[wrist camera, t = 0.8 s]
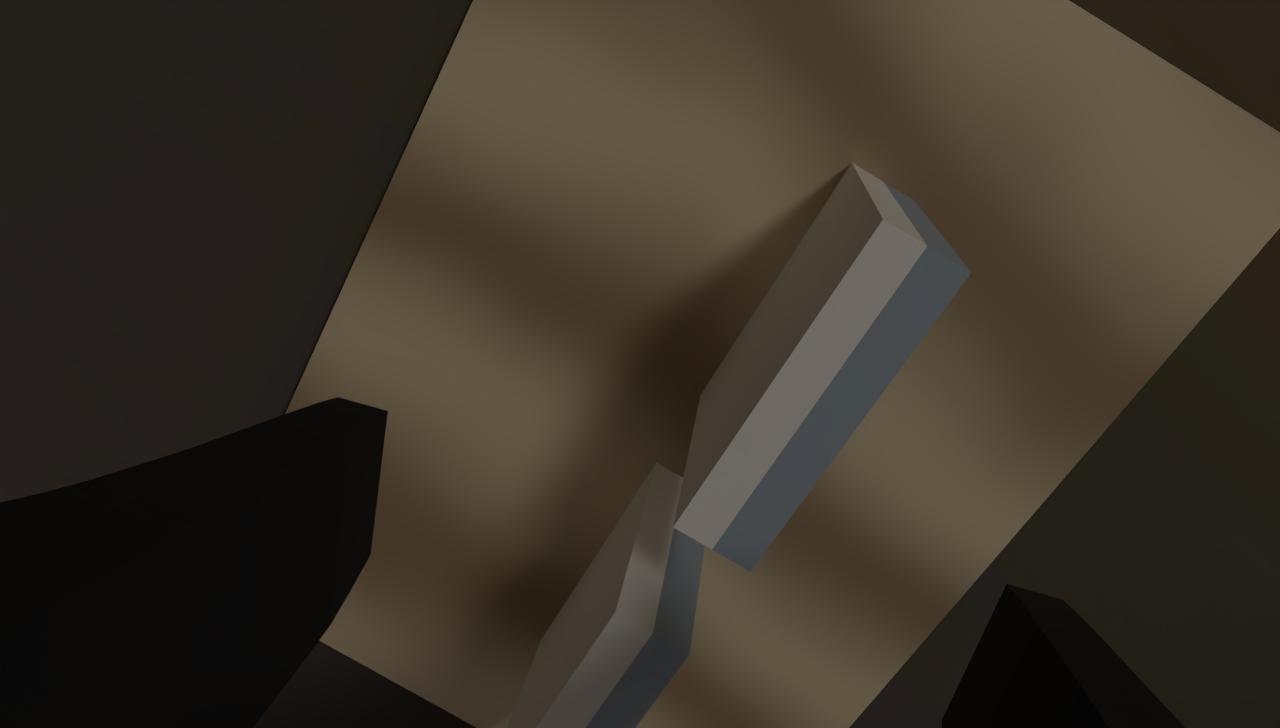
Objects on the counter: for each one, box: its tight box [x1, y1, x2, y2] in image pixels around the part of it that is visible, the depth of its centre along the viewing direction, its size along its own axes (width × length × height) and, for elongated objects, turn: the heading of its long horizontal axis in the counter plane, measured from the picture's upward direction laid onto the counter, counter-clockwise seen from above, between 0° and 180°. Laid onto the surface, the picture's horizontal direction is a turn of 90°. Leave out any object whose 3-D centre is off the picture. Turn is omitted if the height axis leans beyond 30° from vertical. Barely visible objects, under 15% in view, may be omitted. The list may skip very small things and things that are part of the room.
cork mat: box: [285, 0, 1280, 728], centre depth 22 cm, size 22×16×1 cm
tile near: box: [673, 163, 971, 572], centre depth 17 cm, size 6×2×6 cm, turn 151°
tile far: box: [507, 463, 705, 728], centre depth 20 cm, size 6×2×6 cm, turn 151°
